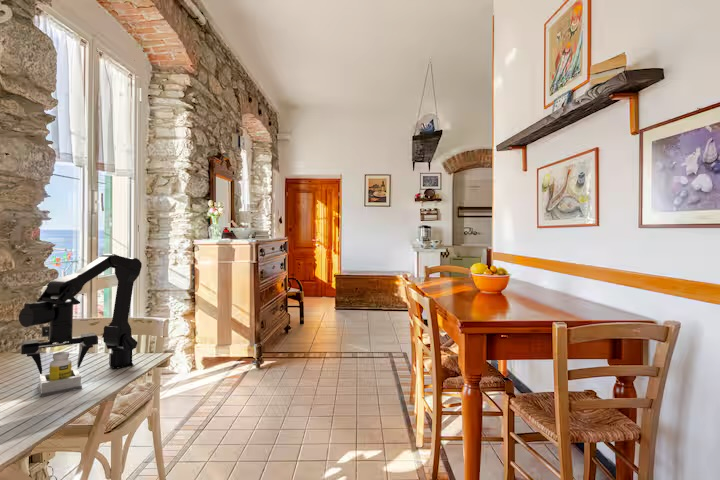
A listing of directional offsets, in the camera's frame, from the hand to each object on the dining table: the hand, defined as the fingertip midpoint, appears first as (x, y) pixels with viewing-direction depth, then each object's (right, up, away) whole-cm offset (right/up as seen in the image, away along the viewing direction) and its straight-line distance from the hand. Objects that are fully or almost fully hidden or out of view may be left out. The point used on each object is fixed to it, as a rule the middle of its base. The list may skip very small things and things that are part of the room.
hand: (60, 370), depth 120 cm
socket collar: (0, -5, 0) cm, 5 cm away
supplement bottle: (0, -5, 0) cm, 5 cm away
